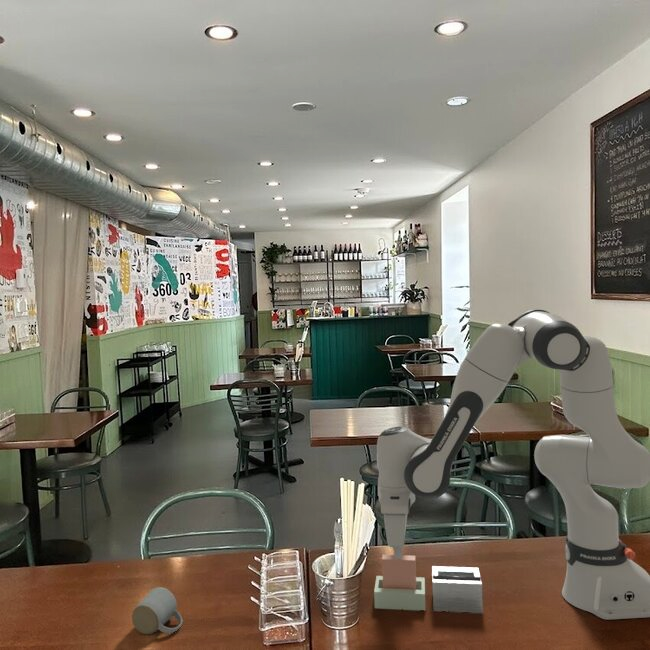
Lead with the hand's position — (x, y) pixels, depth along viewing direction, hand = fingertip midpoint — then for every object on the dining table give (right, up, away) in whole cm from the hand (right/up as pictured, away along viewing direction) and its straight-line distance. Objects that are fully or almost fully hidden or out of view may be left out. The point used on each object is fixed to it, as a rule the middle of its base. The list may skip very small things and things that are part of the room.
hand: (399, 548), depth 140 cm
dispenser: (+13, -12, -3) cm, 18 cm away
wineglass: (-13, -12, +21) cm, 27 cm away
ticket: (0, -12, -1) cm, 12 cm away
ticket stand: (0, -13, -1) cm, 13 cm away
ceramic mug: (-57, -16, -7) cm, 59 cm away
